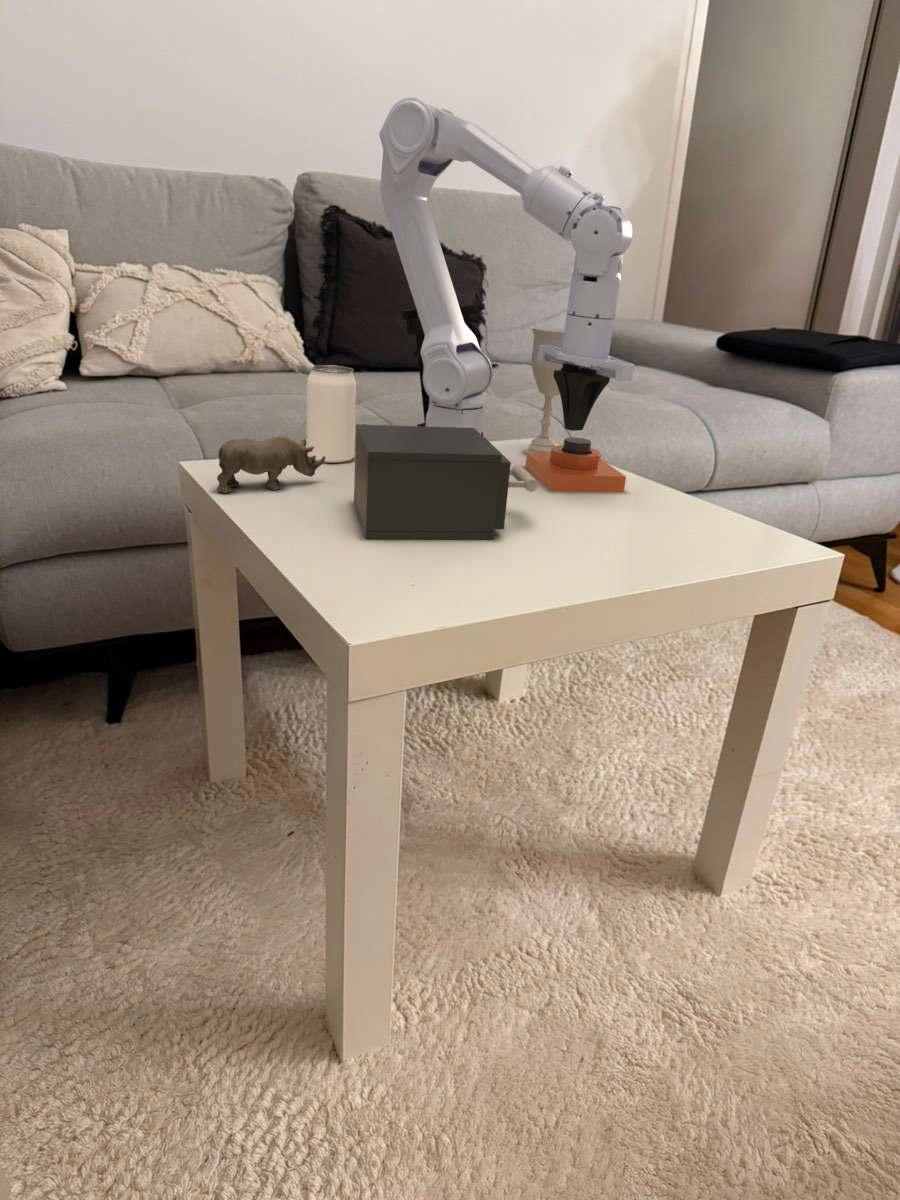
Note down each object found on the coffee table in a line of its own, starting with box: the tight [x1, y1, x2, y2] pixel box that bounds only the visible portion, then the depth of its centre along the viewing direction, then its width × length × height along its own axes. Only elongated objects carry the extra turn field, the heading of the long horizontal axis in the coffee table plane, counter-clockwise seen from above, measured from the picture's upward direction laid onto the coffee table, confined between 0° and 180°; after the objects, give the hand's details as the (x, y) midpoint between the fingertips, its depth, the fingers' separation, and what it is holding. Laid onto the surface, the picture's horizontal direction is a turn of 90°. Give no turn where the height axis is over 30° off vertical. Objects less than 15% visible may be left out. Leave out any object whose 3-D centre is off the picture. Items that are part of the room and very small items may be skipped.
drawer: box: [483, 436, 539, 530], centre depth 93 cm, size 17×11×7 cm
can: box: [306, 364, 357, 464], centre depth 114 cm, size 6×6×12 cm
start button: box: [562, 436, 592, 455], centre depth 114 cm, size 4×4×2 cm
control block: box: [524, 444, 627, 493], centre depth 115 cm, size 12×10×4 cm
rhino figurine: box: [216, 436, 325, 494], centre depth 101 cm, size 4×14×6 cm, turn 121°
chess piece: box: [400, 304, 484, 437], centre depth 121 cm, size 8×8×20 cm
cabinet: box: [353, 423, 502, 540], centre depth 92 cm, size 14×13×9 cm
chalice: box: [525, 326, 573, 454], centre depth 124 cm, size 7×7×18 cm
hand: (573, 429), depth 107 cm, fingers closed
